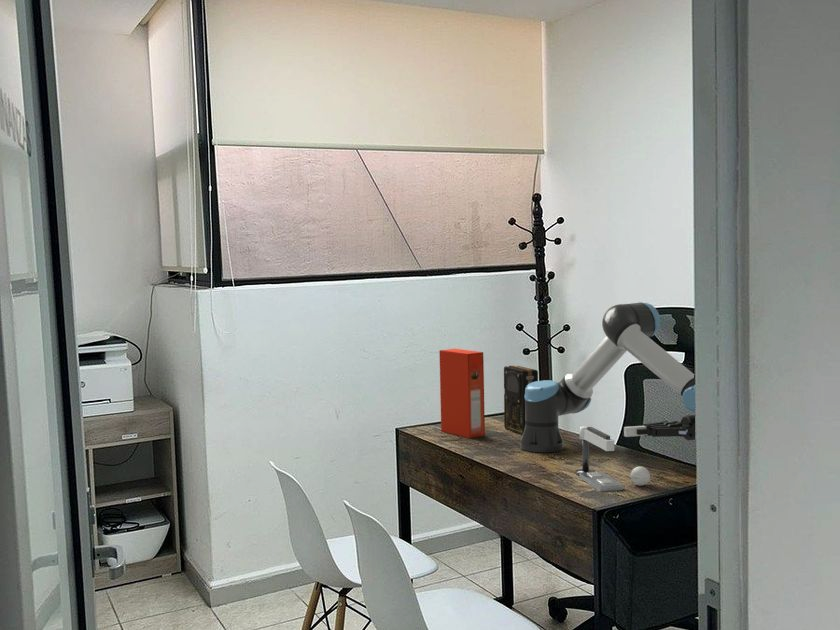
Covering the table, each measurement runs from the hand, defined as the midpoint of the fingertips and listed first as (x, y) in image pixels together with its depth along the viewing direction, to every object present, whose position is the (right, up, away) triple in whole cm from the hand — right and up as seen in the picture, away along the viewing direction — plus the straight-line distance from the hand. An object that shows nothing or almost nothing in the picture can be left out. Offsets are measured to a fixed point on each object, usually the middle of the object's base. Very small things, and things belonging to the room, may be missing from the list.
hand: (625, 431), depth 258 cm
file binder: (-45, -11, +76) cm, 89 cm away
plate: (-7, -16, 0) cm, 17 cm away
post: (-10, -15, +12) cm, 21 cm away
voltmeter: (-22, -11, +78) cm, 82 cm away
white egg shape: (+4, -16, -3) cm, 17 cm away
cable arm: (-8, -4, +2) cm, 9 cm away
